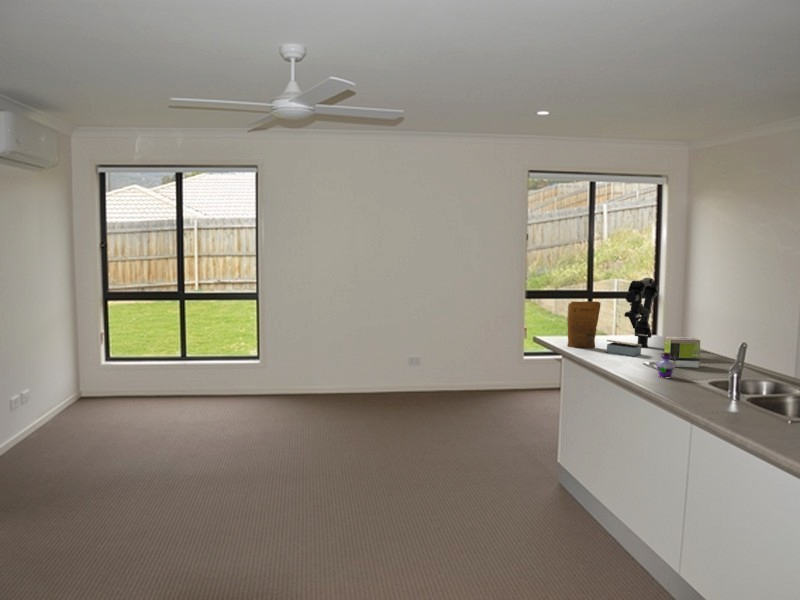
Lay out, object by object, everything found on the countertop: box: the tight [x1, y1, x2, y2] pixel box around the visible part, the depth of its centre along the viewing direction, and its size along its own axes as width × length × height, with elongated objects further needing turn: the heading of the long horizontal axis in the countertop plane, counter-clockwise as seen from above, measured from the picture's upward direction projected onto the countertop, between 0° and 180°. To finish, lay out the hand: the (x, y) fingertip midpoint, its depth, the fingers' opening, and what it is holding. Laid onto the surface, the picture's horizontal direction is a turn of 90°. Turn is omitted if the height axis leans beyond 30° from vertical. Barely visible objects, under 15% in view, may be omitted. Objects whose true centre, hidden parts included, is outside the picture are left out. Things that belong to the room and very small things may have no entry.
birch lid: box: [606, 339, 642, 346], centre depth 361 cm, size 10×16×1 cm, turn 51°
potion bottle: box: [655, 351, 676, 378], centre depth 305 cm, size 9×9×12 cm
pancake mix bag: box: [566, 300, 601, 349], centre depth 377 cm, size 7×19×28 cm, turn 83°
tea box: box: [663, 336, 701, 369], centre depth 332 cm, size 15×10×15 cm, turn 84°
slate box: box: [606, 342, 642, 358], centre depth 362 cm, size 10×16×5 cm, turn 51°
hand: (634, 328), depth 372 cm, fingers closed
